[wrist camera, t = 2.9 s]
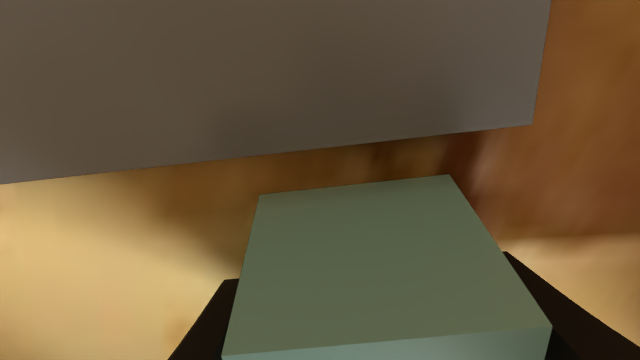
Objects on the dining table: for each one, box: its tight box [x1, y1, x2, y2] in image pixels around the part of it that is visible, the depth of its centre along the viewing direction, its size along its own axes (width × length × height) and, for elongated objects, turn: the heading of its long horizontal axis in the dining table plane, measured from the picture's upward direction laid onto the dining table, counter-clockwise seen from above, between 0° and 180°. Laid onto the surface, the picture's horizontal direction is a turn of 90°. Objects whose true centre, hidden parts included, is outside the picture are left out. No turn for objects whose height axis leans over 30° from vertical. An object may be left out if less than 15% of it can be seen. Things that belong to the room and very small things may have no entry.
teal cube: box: [221, 174, 552, 360], centre depth 9 cm, size 5×5×5 cm
